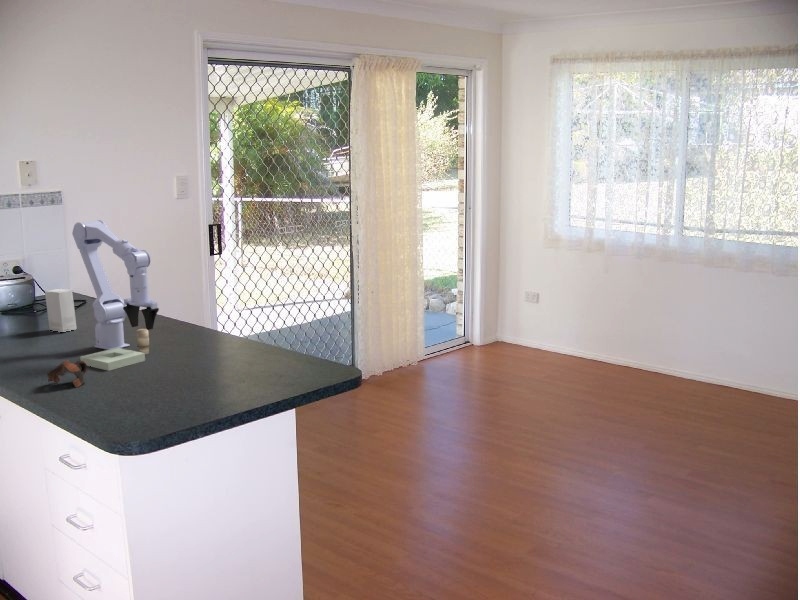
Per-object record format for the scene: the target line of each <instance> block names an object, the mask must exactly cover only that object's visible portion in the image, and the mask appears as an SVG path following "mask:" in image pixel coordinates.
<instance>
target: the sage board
mask: <svg viewBox="0 0 800 600" xmlns="http://www.w3.org/2000/svg"><path fill="white" fill-rule="evenodd" d="M79 359H80V360H79V361H84V362H85V363H86V365H87V367H90V366H91V368H95V369H99V370H104V371H113V370H116V369H120V368H124V367H127V366H131V365H134V364H138V363H142V362H145V361H146V354H145V353H141V352H139V351H136V350H131V349H127V348H113V349H109V350H106V349H104V350H103V351H98V352H94V353H89V354H86V355H81V356H79Z"/></svg>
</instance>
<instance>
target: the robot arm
mask: <svg viewBox="0 0 800 600" xmlns="http://www.w3.org/2000/svg"><path fill="white" fill-rule="evenodd" d="M71 234H72V237H73V239H74V242H75V244H76V247H77V249H78V250H79V253H80V256H81V258H82V261H83V264H84V266H85V268H86V271H87V274H88V277H89V280H90V282H91V284H92V287H93V290H94V292H95V295H96V298H95V300H94V301H93V302H92V308H93V316H94V319H95V320H96V321H97V323H96V324H95V326H94V327H95V328H94V333H95V334H94V335H95V345H94V346H93V347H94V348H98V349H102V350H109V349H113V348H122V349H124V348H126V347H130V346H131V345H130V344H129V343H125V336H124V335H125V333H124V323H123V322H124V321H125V319H126V317H127V318H128V320H129V323H130V325H131V327H132V328H136V327H138V326H139V313H140V308H142V309H141V313H142V315H143V318H144V323H145V329H147V330H148V331H149V330H153V329H154V325H155V321H156V320H155V319H156V316H157V314H158V312H159V310H160V309H159V307H158V302H157V301H154V300H151V299H150V292H149V291H150V290H149V289H150V288H149V277H148V275H149V274H148V267H150V265H151V256H150V254H149V253H148V252H147V250H145V249H142V250H140V249H138V248H137V247H136V246H134V245H132V244H131V243H130V242H129V241H128V239H123V238H122V239H119V238H118V237H117V236H116V235H115V234H114V233H113V232H112V231H111V230H110V229H109V227H108V224H107V223H105V222H104V221H103V220H101V219H100V220H97V221H96V220H95V221H85V222H84V221H83V222H76V223H75V224H74V226H73V229H72V233H71ZM102 244H106V245H107V246H109V247H111V248H112V253H113V254H115V256H117V257H118V258H120V259H121V260H122V261H123V262H124V266H125V268H126V272H127V275H129V278H128V279H129V288H130V290H129V291H130V297H129V298H123V299H122V297H121V295H119V294H117V293H115V292H113V289H112V286H111V284H110V281H109V280H108V276H107V274H106V271H105V269H104V266H103V264H102V263H103V262H102V261H101V257H100V256H99V252H98V249H99V248H100V247H101V246H102Z"/></svg>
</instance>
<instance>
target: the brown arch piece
mask: <svg viewBox="0 0 800 600" xmlns="http://www.w3.org/2000/svg"><path fill="white" fill-rule="evenodd" d="M65 369H66V370H67V371H68V372H69V373H72V374H73V375H74V376H76V378H75V379H74V380H73V381H72V385H74V387H77V388H79V387H81V386H82V385H84V384H85V383H86V381H85V378H84V376H85V374H86V373H87V371H88V366H87V365H86V363H85V362H84V361H81V360H78V361H76V362H75V363H74V362H71V361H70V360H69V359H68V360H65V361H63V362H62V363H60V364H58V365H57V366H56V367H54V368H53V369H51V370H49V371H47V373H46V376H47V381H48V383H49V382H54V383H55V382H58V383H59V382H60V381H61V378H60V377H62V376H65V375H66V374H65ZM59 376H60V377H59Z"/></svg>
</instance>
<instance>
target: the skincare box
mask: <svg viewBox="0 0 800 600" xmlns="http://www.w3.org/2000/svg"><path fill="white" fill-rule="evenodd" d="M44 295H45V304H46V312H47V319H48V326H49V331H50V330H53V331H58V332H57V333H60V332H66V331H70V332H72V331H71V330H74V331H77V330H78V329H77V320H76V319H77V318H76V312H75V303H74V295H73V289H67V288H55V289H49V290H44ZM76 329H77V330H76ZM53 331H52V332H53ZM66 333H67V332H66Z"/></svg>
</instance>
